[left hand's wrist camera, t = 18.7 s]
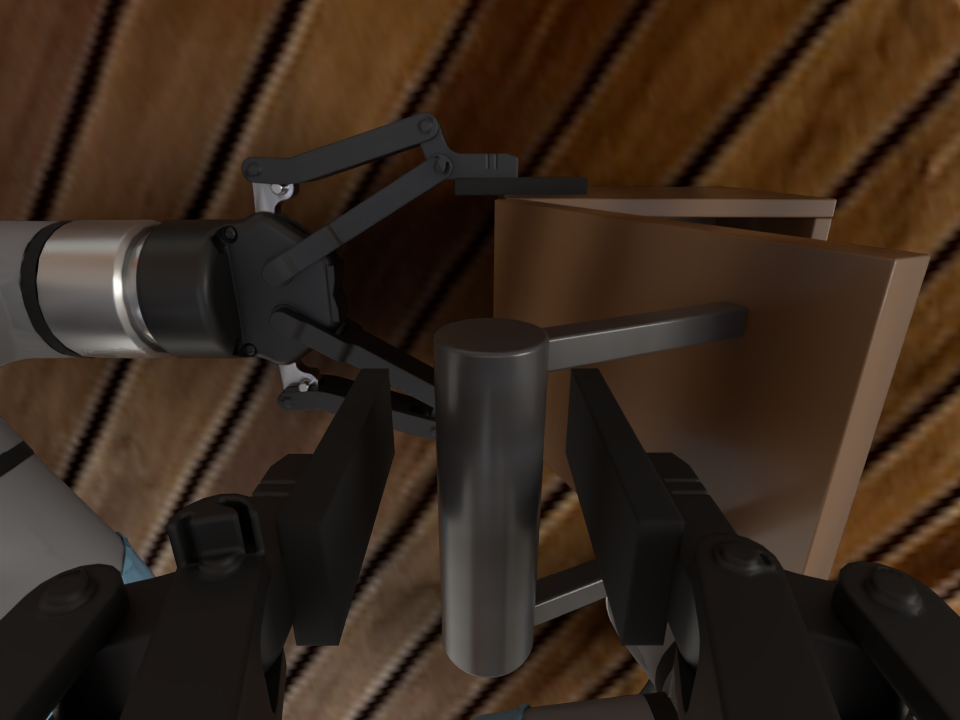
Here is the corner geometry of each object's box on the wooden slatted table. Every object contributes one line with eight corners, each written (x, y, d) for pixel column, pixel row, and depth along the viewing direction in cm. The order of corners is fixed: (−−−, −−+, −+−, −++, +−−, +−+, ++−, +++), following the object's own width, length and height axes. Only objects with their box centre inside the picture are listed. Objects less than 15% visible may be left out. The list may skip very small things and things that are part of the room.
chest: (728, 187, 33) (837, 199, 23) (702, 338, 37) (787, 406, 27) (498, 186, 33) (505, 198, 23) (496, 337, 37) (501, 405, 27)
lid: (932, 254, 9) (521, 304, 6) (802, 661, 13) (503, 833, 10) (517, 198, 22) (317, 204, 19) (511, 409, 26) (342, 444, 23)
